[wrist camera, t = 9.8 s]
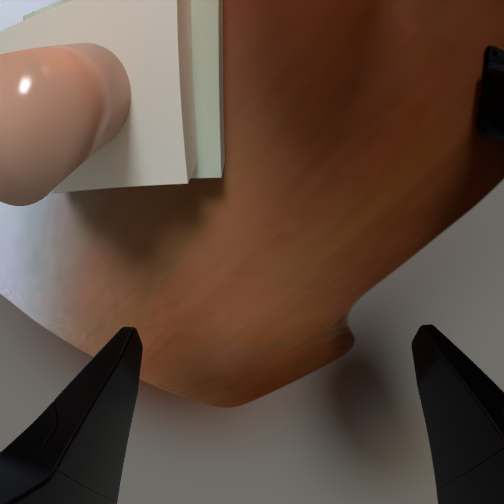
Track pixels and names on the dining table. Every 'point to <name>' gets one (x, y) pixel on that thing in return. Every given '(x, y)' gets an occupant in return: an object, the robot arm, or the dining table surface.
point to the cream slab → (141, 84)
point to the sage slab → (203, 84)
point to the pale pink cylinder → (56, 114)
